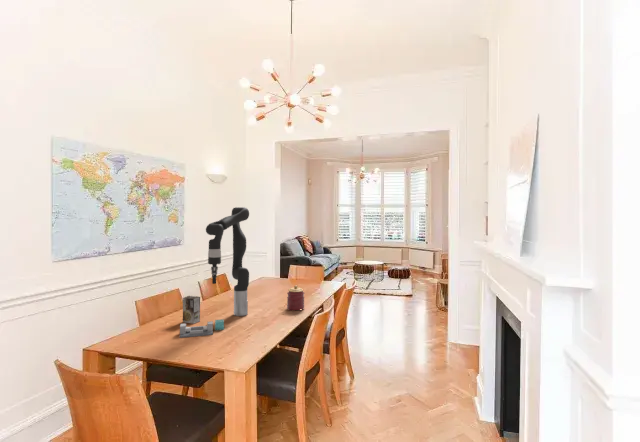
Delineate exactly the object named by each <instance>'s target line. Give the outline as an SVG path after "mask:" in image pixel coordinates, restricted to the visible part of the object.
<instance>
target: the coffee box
mask: <svg viewBox="0 0 640 442" xmlns="http://www.w3.org/2000/svg"><path fill="white" fill-rule="evenodd" d="M200 322H201V296H196V295H194V296H193V295H187V296H185V297H182V323H184V324H185V323H186V324H197V323H200Z"/></svg>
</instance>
